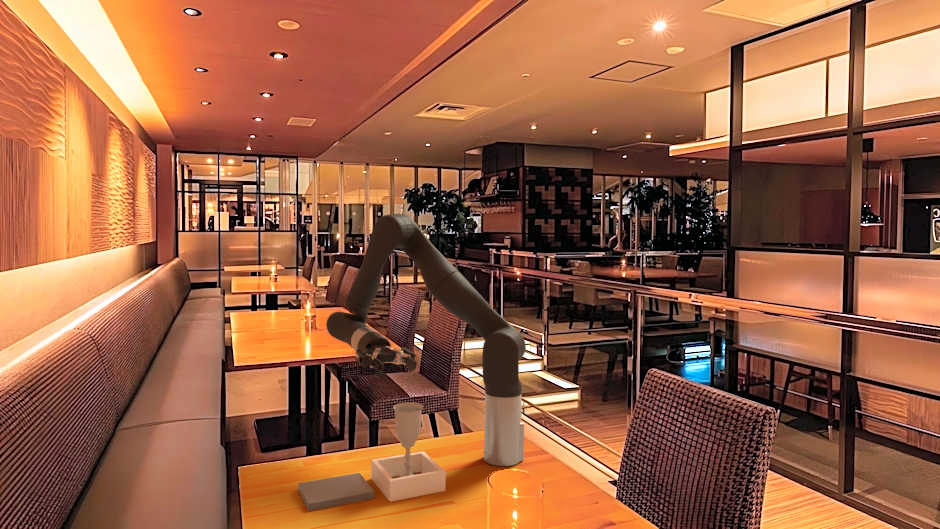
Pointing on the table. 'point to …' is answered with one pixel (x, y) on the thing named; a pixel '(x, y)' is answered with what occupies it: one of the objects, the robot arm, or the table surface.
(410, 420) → the chalice
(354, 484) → the slate board
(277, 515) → the table surface
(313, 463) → the table surface
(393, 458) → the open box
